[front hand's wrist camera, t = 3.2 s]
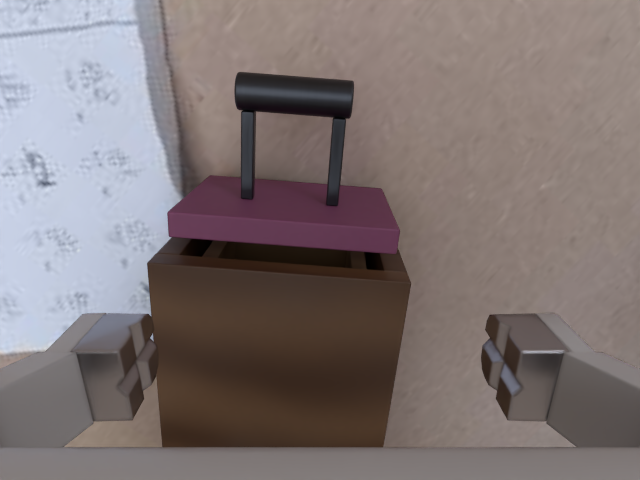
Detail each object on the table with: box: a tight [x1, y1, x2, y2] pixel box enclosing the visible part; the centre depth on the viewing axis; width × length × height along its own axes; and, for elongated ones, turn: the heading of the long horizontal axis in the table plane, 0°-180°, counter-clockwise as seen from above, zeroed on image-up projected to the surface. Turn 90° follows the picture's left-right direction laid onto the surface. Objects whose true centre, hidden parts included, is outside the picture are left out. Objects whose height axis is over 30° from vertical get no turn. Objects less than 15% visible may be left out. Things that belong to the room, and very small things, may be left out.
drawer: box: [168, 72, 400, 269], centre depth 24 cm, size 25×10×7 cm, turn 176°
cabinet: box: [147, 237, 411, 447], centre depth 26 cm, size 20×11×9 cm, turn 176°
